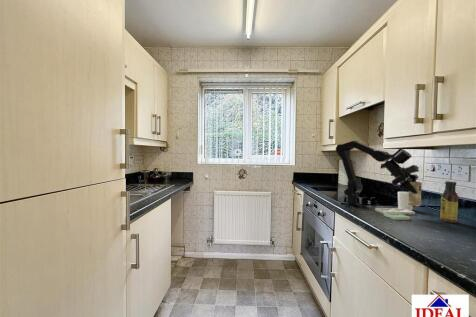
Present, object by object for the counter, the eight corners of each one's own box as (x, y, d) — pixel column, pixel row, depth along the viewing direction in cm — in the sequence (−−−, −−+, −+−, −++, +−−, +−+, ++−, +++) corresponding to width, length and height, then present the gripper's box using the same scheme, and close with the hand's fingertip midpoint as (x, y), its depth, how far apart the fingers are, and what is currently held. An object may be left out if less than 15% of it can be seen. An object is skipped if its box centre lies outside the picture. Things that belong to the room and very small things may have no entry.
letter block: (408, 205, 123) (409, 181, 123) (411, 204, 125) (412, 181, 125) (417, 206, 119) (418, 182, 119) (420, 205, 122) (422, 182, 121)
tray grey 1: (375, 210, 135) (375, 208, 135) (388, 210, 135) (388, 208, 135) (384, 214, 127) (384, 211, 127) (399, 214, 127) (399, 211, 127)
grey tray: (390, 210, 135) (390, 208, 135) (403, 211, 136) (403, 208, 136) (400, 214, 127) (400, 211, 127) (415, 214, 128) (415, 212, 128)
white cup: (406, 211, 135) (407, 193, 135) (393, 208, 143) (394, 191, 143) (416, 210, 137) (417, 193, 137) (404, 207, 145) (404, 191, 145)
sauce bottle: (439, 218, 121) (441, 180, 120) (456, 221, 117) (458, 181, 116) (440, 221, 116) (442, 181, 115) (457, 224, 112) (459, 182, 111)
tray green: (383, 215, 125) (383, 212, 125) (398, 215, 125) (398, 212, 125) (394, 219, 117) (394, 216, 117) (410, 220, 117) (410, 217, 117)
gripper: (399, 159, 120) (424, 184, 111) (415, 159, 130) (439, 182, 121) (382, 173, 127) (404, 198, 118) (398, 172, 137) (420, 195, 128)
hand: (418, 193), depth 121 cm, fingers closed on letter block, 4 cm apart
